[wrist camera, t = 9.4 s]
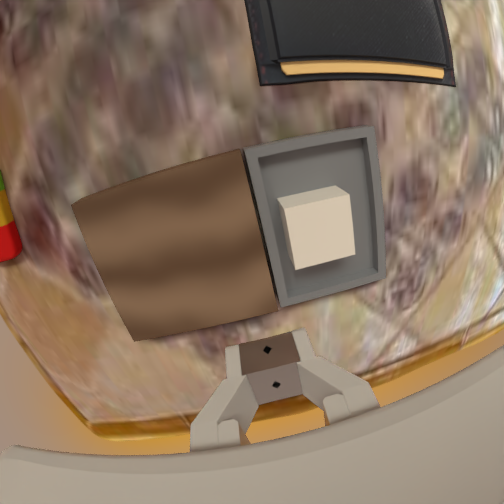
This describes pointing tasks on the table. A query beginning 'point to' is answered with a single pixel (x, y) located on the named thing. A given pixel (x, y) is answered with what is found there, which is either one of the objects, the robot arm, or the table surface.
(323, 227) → the cream rectangular block
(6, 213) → the popsicle
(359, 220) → the box
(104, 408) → the table surface
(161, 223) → the ramp
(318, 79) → the wallet
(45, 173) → the table surface
